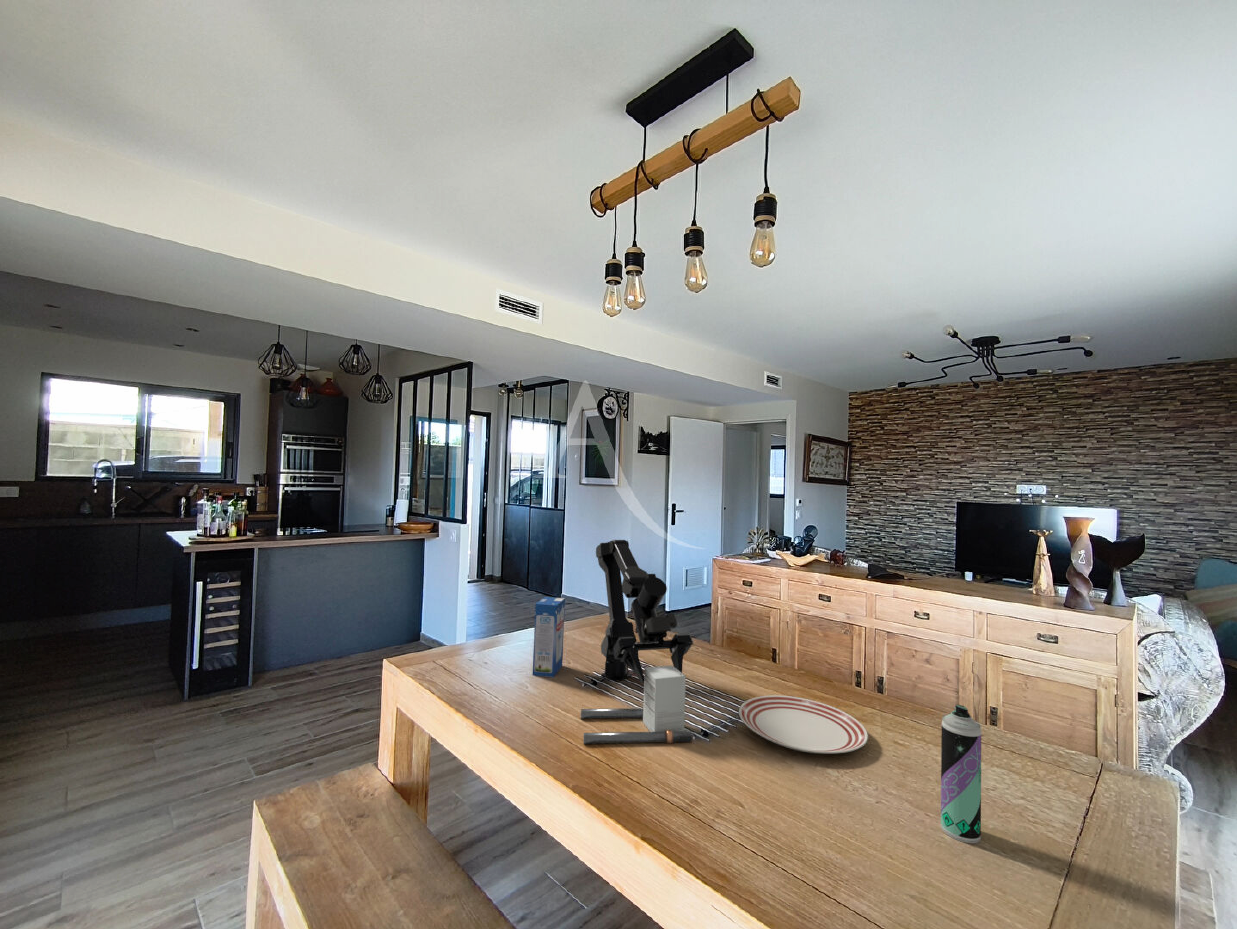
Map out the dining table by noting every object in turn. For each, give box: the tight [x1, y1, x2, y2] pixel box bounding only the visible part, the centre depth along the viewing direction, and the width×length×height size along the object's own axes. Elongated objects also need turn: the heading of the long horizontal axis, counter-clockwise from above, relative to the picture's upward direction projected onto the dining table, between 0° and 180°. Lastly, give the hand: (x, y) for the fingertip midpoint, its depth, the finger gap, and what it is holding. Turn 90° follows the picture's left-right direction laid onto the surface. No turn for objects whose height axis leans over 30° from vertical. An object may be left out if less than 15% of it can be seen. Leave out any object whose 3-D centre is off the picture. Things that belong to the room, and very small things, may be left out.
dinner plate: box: [738, 694, 869, 755], centre depth 120 cm, size 28×27×3 cm
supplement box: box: [642, 665, 687, 732], centre depth 119 cm, size 7×7×13 cm
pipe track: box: [580, 707, 693, 745], centre depth 118 cm, size 23×15×3 cm, turn 97°
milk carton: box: [532, 596, 566, 678], centre depth 154 cm, size 10×6×20 cm, turn 172°
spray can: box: [940, 704, 982, 844], centre depth 86 cm, size 6×6×20 cm
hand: (662, 680), depth 121 cm, fingers open, 9 cm apart
